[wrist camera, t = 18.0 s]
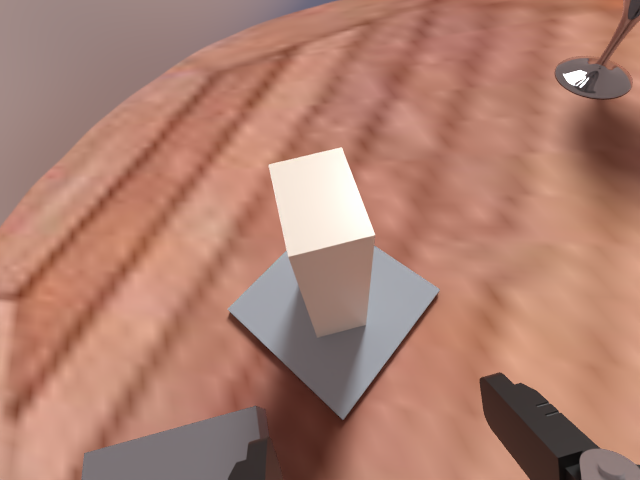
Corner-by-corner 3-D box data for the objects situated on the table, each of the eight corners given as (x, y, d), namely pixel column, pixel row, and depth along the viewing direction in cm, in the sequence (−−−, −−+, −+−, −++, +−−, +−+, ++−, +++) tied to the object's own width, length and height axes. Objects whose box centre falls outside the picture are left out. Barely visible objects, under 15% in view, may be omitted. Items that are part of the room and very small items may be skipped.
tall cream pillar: (366, 324, 24) (375, 235, 13) (317, 337, 23) (287, 256, 13) (346, 262, 26) (341, 147, 16) (302, 274, 26) (268, 164, 16)
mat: (438, 292, 25) (439, 289, 24) (343, 420, 21) (342, 419, 21) (325, 216, 29) (324, 212, 29) (230, 311, 26) (227, 309, 25)
